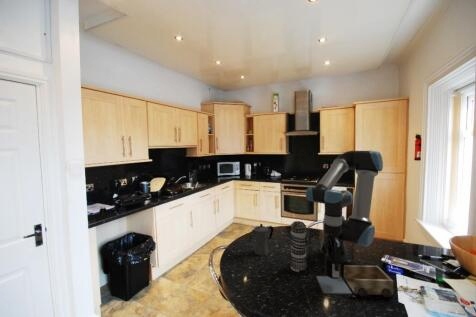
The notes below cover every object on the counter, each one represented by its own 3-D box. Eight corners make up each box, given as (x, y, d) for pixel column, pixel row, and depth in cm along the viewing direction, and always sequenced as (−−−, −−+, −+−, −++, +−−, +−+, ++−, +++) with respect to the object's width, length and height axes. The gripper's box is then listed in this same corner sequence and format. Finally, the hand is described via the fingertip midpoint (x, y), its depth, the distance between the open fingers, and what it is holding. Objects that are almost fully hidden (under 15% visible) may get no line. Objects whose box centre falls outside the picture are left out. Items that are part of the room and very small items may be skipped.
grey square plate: (351, 295, 97) (323, 294, 98) (341, 278, 109) (316, 278, 110) (351, 292, 97) (323, 292, 98) (341, 276, 109) (316, 276, 110)
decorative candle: (295, 261, 126) (295, 218, 125) (310, 267, 120) (310, 222, 118) (286, 267, 120) (286, 222, 118) (302, 274, 113) (301, 227, 112)
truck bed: (356, 297, 96) (356, 281, 95) (342, 277, 110) (342, 263, 110) (394, 298, 95) (395, 282, 94) (376, 278, 109) (376, 264, 109)
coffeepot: (255, 257, 131) (255, 228, 130) (248, 251, 140) (248, 223, 139) (277, 252, 137) (277, 224, 136) (269, 246, 146) (269, 219, 145)
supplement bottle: (322, 271, 106) (322, 247, 106) (336, 270, 107) (336, 246, 106) (329, 280, 99) (329, 254, 99) (343, 279, 100) (344, 253, 99)
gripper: (350, 232, 92) (350, 285, 93) (333, 216, 111) (333, 261, 113) (332, 232, 92) (331, 285, 93) (318, 216, 112) (318, 260, 113)
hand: (332, 271), depth 103 cm, fingers closed on supplement bottle, 7 cm apart
